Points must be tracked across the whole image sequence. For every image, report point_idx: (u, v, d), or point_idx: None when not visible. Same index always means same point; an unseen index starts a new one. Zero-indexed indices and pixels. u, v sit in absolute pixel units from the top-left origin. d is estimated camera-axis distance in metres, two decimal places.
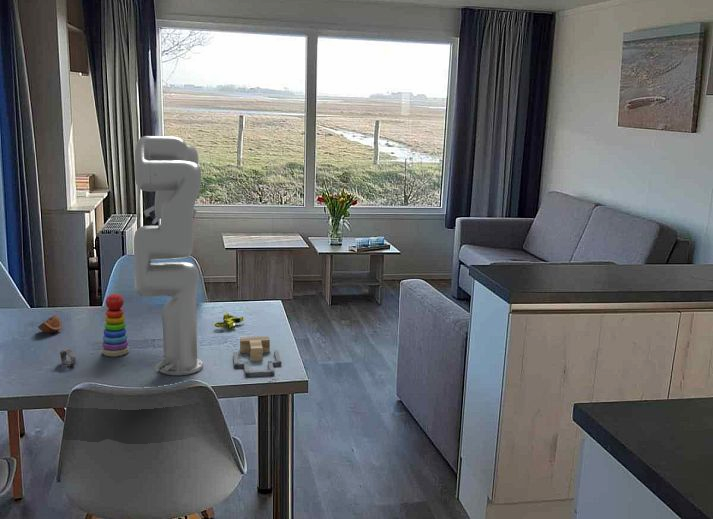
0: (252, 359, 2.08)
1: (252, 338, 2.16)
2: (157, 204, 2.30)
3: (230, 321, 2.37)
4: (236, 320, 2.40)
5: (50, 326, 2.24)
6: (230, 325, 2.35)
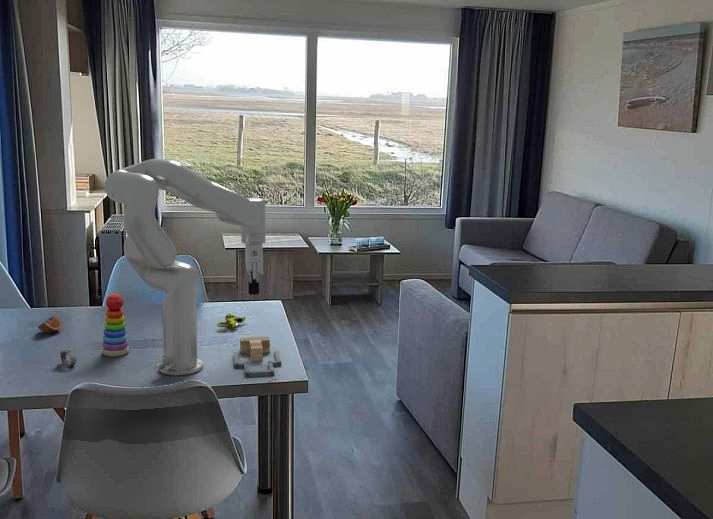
0: (252, 359, 2.08)
1: (252, 338, 2.16)
2: (262, 259, 2.14)
3: (233, 321, 2.37)
4: (238, 320, 2.41)
5: (50, 326, 2.24)
6: (233, 325, 2.35)
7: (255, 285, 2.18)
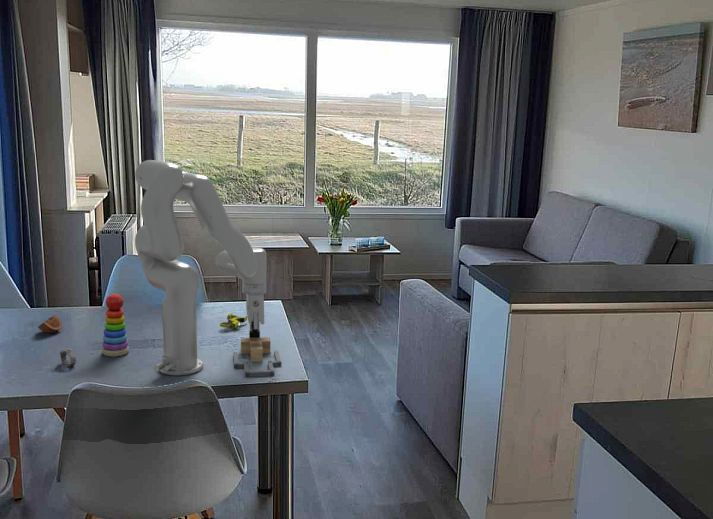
0: (252, 360, 2.08)
1: (253, 339, 2.15)
2: (263, 310, 2.13)
3: (235, 321, 2.38)
4: (240, 320, 2.41)
5: (50, 326, 2.24)
6: (235, 325, 2.36)
7: (256, 335, 2.18)
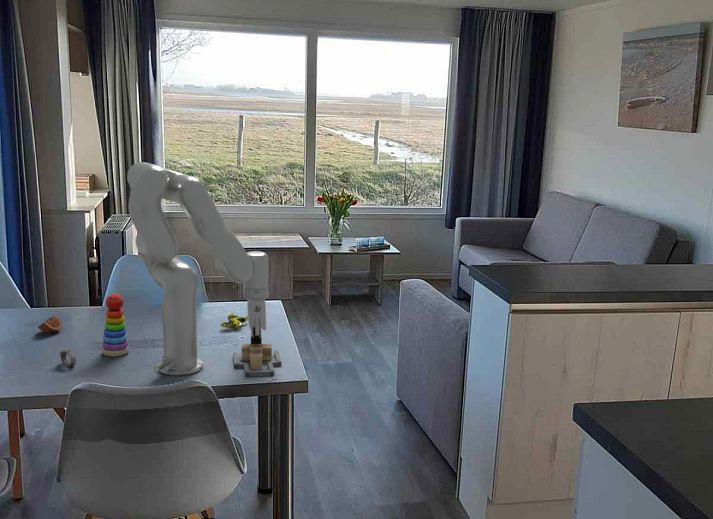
0: (251, 367, 2.02)
1: (254, 345, 2.10)
2: (265, 315, 2.08)
3: (236, 321, 2.38)
4: (241, 320, 2.41)
5: (50, 326, 2.24)
6: (237, 325, 2.36)
7: (258, 340, 2.12)
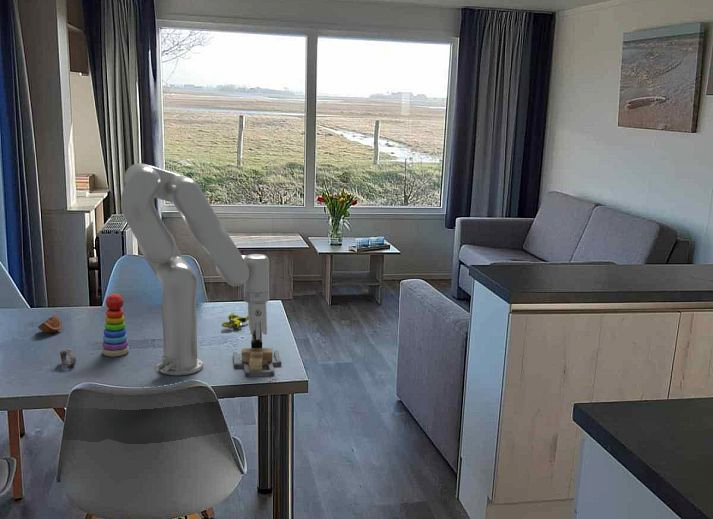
0: None
1: (254, 350, 2.06)
2: (266, 319, 2.04)
3: (237, 321, 2.38)
4: (242, 320, 2.41)
5: (50, 326, 2.24)
6: (237, 325, 2.36)
7: (258, 345, 2.08)
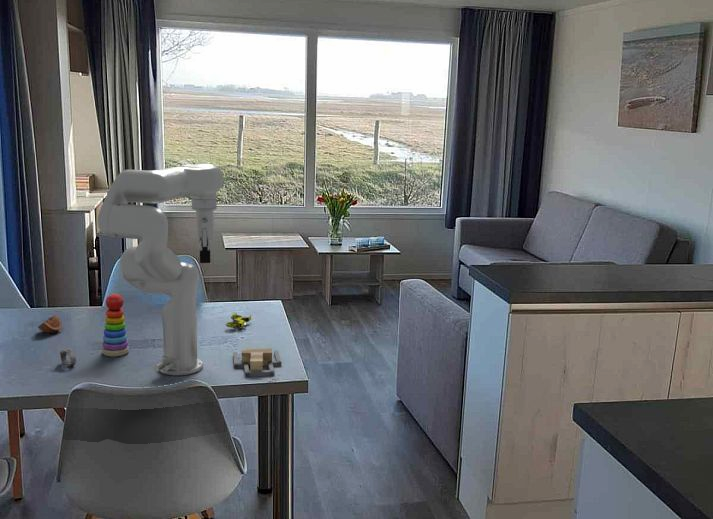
0: None
1: (254, 350, 2.06)
2: (213, 226, 2.09)
3: (241, 321, 2.38)
4: (245, 319, 2.42)
5: (50, 326, 2.24)
6: (242, 324, 2.36)
7: (206, 253, 2.13)
